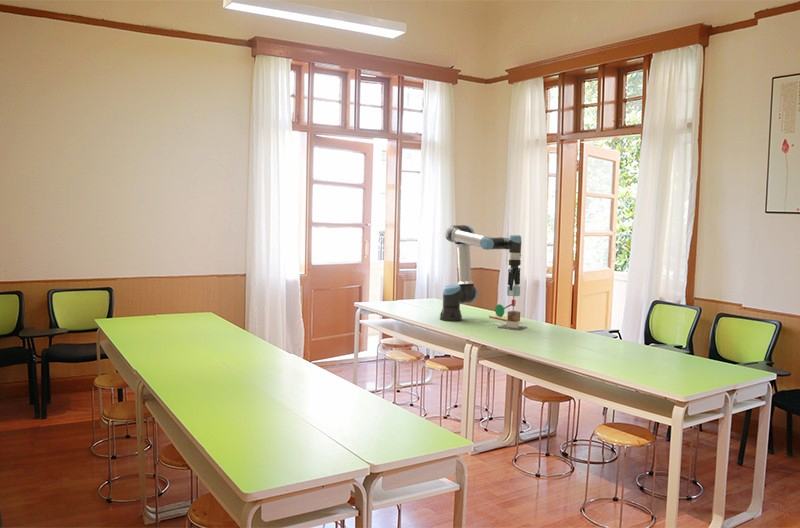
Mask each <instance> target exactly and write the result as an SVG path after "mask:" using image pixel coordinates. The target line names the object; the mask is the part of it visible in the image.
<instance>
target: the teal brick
mask: <svg viewBox="0 0 800 528" xmlns="http://www.w3.org/2000/svg"><path fill="white" fill-rule="evenodd" d="M506 291H507V292H506V293H507V295H506V296H508V297H513V296H514V297H518V296H521V285H518V286H514V294H513V296H511V295H509V285H507V290H506Z"/></svg>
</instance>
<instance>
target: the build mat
mask: <svg viewBox="0 0 800 528" xmlns="http://www.w3.org/2000/svg"><path fill="white" fill-rule="evenodd" d="M520 323H521V320H520V321H518V322H513V321H506V324H507V325H503V326H502V325H499V326H498V329H505V330H512V331H513V330H514V331H521V330H524V329H526V328H528V326H523V325H521V324H520Z"/></svg>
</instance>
